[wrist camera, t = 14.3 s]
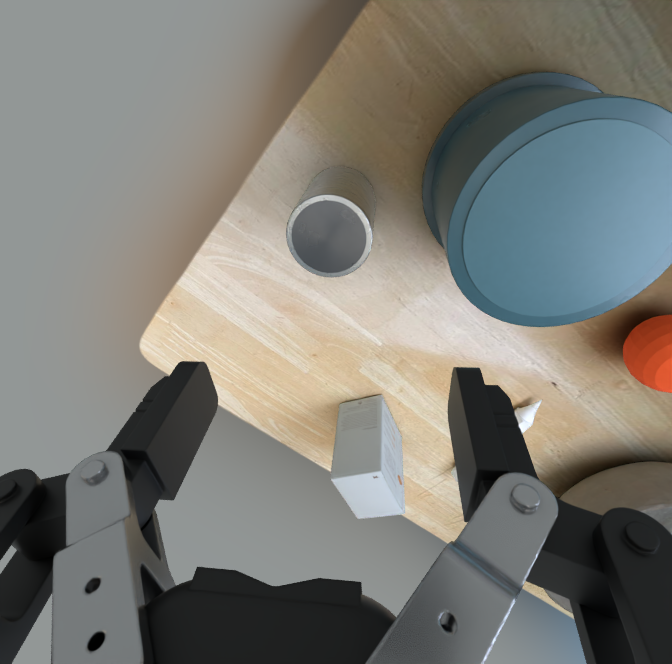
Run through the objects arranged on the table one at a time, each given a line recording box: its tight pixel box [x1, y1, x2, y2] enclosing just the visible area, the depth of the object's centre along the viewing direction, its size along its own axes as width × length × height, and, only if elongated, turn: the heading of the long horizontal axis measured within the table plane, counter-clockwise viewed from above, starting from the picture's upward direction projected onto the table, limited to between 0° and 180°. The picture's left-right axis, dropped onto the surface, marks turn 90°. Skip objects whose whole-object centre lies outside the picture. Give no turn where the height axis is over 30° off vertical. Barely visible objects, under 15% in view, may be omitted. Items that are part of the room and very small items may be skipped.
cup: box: [286, 166, 376, 277], centre depth 30 cm, size 6×6×8 cm
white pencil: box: [451, 400, 542, 482], centre depth 46 cm, size 3×2×16 cm
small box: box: [330, 395, 405, 519], centre depth 44 cm, size 8×6×10 cm
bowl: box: [544, 461, 672, 613], centre depth 47 cm, size 28×28×10 cm
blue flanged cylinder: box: [422, 72, 672, 327], centre depth 26 cm, size 14×14×11 cm
